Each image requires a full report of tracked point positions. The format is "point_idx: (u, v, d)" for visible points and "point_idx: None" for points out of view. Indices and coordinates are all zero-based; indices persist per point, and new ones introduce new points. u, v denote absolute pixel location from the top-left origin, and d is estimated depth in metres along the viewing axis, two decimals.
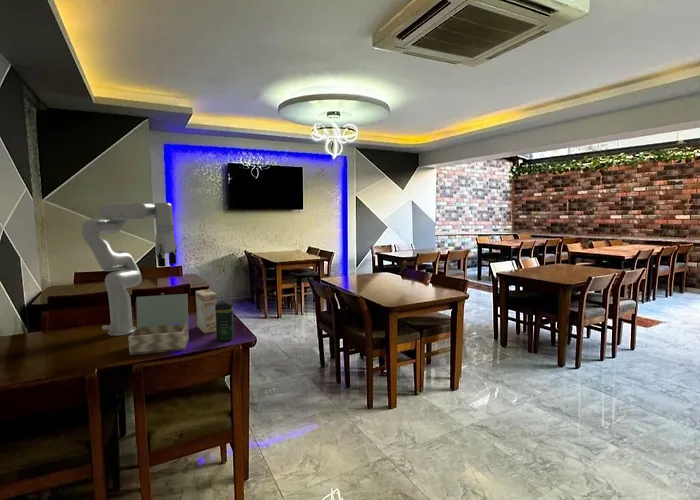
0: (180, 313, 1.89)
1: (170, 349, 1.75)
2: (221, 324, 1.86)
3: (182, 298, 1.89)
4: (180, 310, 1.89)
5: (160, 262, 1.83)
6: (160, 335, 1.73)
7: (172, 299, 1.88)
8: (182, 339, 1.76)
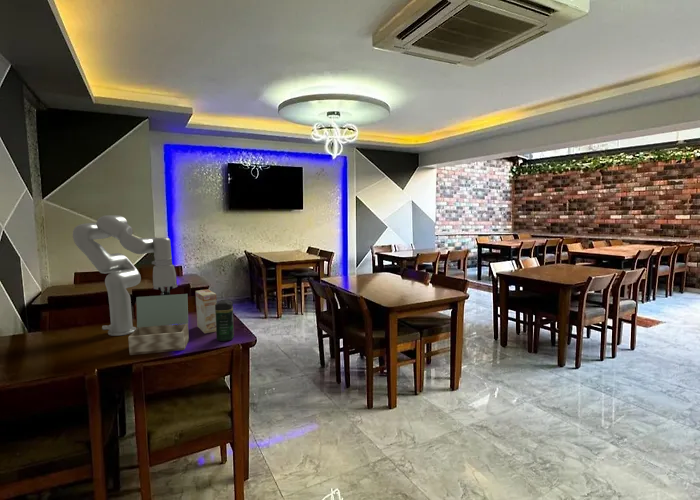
0: (180, 313, 1.89)
1: (170, 349, 1.75)
2: (221, 324, 1.86)
3: (182, 298, 1.89)
4: (180, 310, 1.89)
5: None
6: (160, 335, 1.73)
7: (172, 299, 1.88)
8: (182, 339, 1.76)
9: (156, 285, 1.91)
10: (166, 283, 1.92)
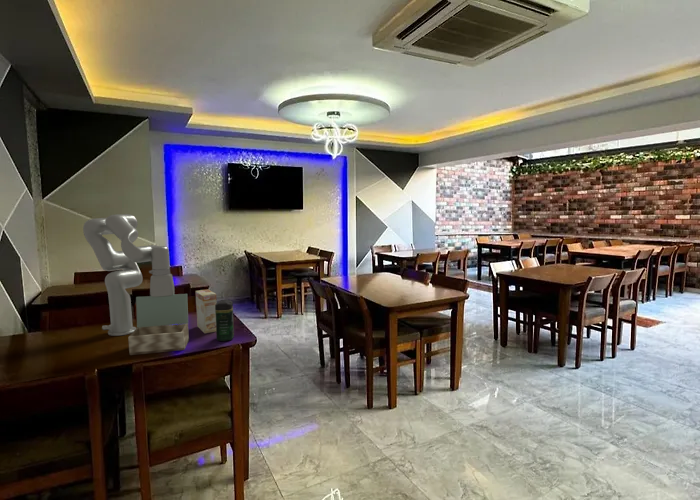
0: (180, 313, 1.89)
1: (170, 349, 1.75)
2: (221, 324, 1.86)
3: (182, 298, 1.89)
4: (180, 310, 1.89)
5: None
6: (160, 335, 1.73)
7: (172, 299, 1.88)
8: (182, 339, 1.76)
9: (153, 295, 1.86)
10: (164, 293, 1.87)
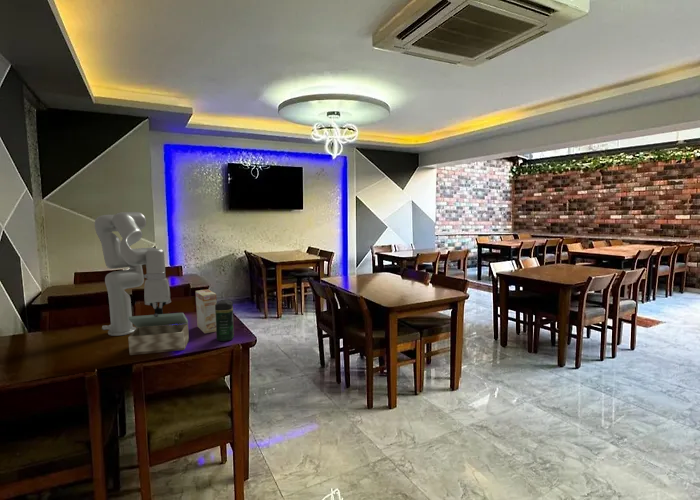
0: (179, 321, 1.84)
1: (170, 349, 1.75)
2: (221, 324, 1.86)
3: (178, 316, 1.78)
4: (178, 320, 1.83)
5: (162, 311, 1.80)
6: (160, 335, 1.73)
7: (168, 317, 1.77)
8: (182, 339, 1.76)
9: (148, 301, 1.75)
10: (159, 299, 1.76)
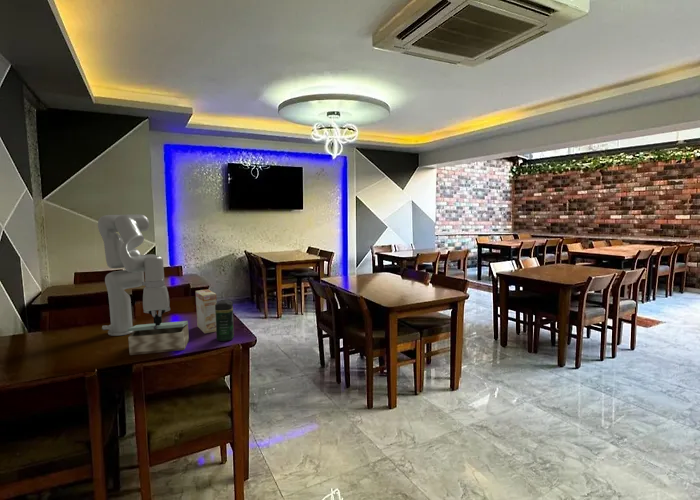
0: None
1: (170, 349, 1.75)
2: (221, 324, 1.86)
3: None
4: None
5: (161, 320, 1.77)
6: (160, 335, 1.73)
7: None
8: (182, 339, 1.76)
9: (146, 309, 1.73)
10: (157, 307, 1.73)
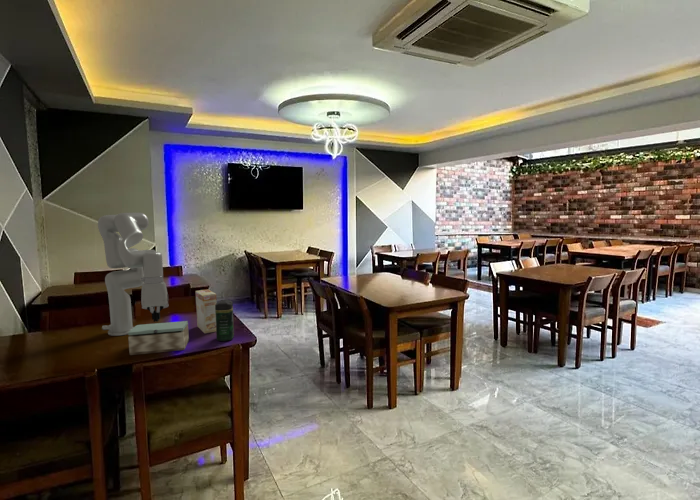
0: None
1: (170, 349, 1.75)
2: (221, 324, 1.86)
3: None
4: None
5: (159, 316, 1.76)
6: (160, 335, 1.73)
7: None
8: (182, 339, 1.76)
9: (145, 305, 1.71)
10: (156, 303, 1.72)
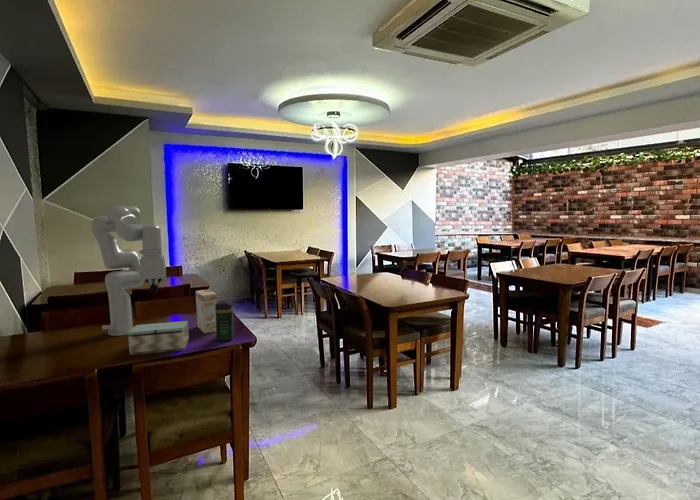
0: None
1: (170, 349, 1.75)
2: (221, 324, 1.86)
3: None
4: None
5: (157, 288, 1.80)
6: (160, 335, 1.73)
7: None
8: (182, 339, 1.76)
9: (143, 277, 1.75)
10: (154, 275, 1.76)
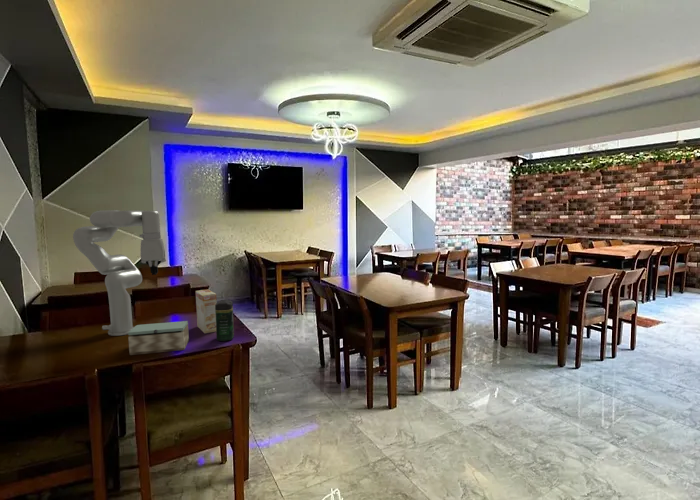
0: None
1: (170, 349, 1.75)
2: (221, 324, 1.86)
3: None
4: None
5: (157, 270, 1.92)
6: (160, 335, 1.73)
7: None
8: (182, 339, 1.76)
9: (144, 259, 1.87)
10: (154, 257, 1.88)
